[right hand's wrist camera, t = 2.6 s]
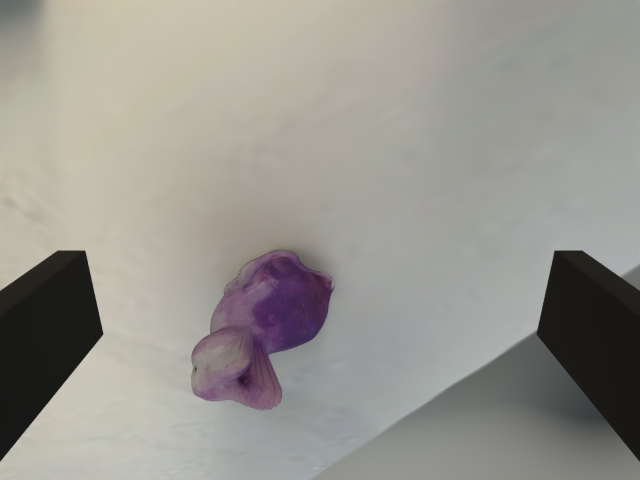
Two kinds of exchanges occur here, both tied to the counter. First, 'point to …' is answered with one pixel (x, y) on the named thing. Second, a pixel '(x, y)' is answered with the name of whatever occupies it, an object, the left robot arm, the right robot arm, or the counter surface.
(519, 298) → the counter surface
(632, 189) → the counter surface
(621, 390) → the right robot arm
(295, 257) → the figurine
